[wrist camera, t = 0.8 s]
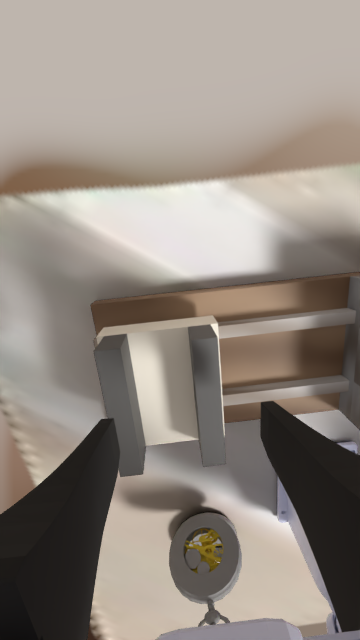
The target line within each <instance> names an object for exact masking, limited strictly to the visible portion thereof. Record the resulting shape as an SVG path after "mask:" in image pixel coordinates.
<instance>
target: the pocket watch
mask: <svg viewBox="0 0 360 640" xmlns="http://www.w3.org/2000/svg"><path fill="white" fill-rule="evenodd" d="M215 560H216V561H217V562H220V563H217V562H216V561H215ZM214 562H215V563H214ZM169 566H170V571H171V575H172V578H173V580H174V583H175V585H176V587H177V588H178V590H179V591H180V592H181V593H182V595H183V596H185V597H186V598H188V599H189V600H190V601H193V602H196V603H199V604H208V609H209V611H208V612H207V613H206V614H205V619H203V620H202V621H201V622H200V623H199V625H198V627H200V626H203V625H204V624H205V622H206V623H207V624H209V625H216V623H218V622H219V620H220V619H222V620H223V621H225V623H230V621H229V620H228V618H226V617H224V616H222V615H220V613H219V612H218V611H217V610H215V609H214V602H216V601H218V600H220V599H222V598H224V597H225V596H226V595H227V594H228V593H229V592H230V591H231V590H232V588H233V587H234V585H235V584H236V582H237V580H238V577H239V573H240V570H241V566H242V554H241V549H240V544H239V541H238V538H237V532H236V530H235V527H234V525H233V523H232V522H231V521H230V520H229V519H227V518H226V517H225V516H223V515H220V514H216V513H201V514H197V515H195V516H192V517H190V518H188V519H187V520H186V521H184V522H183V523H182V525H181V526H180V527H179V529H178V530H177V532H176V533H175V535H174V538H173V540H172V542H171V547H170V553H169Z"/></svg>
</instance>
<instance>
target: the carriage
mask: <svg viewBox="0 0 360 640" xmlns="http://www.w3.org/2000/svg"><path fill="white" fill-rule="evenodd" d="M96 338H97V343H98V346H97V347H96V349H95V350H94V356H95V360H96V365H97V370H98V374H99V379H100V384H101V388H102V393H103V398H104V403H105V407H106V412H107V417H108V419H109V418H114V421H115V427H116V432H117V437H118V442H119V448H120V460H119V467H118V468H119V473H120V477H125V476H133V475H141V474H143V470H144V460H145V450H146V446H150V445H158V444H166V443H174V442H183V441H191V440H199V444H200V450H201V456H202V462H203V467H206V466H214V465H222V464H226V461H225V445H224V436H225V428H224V412H223V396H222V380H221V364H220V348H219V332H218V323H217V321H216V320H215V318H214V317H213V315H211V316H203V317H194V318H185V319H176V320H167V321H158V322H149V323H140V324H131V325H122V326H113V327H104V328H103V329H102V330H101V331H100V333H99V334H98V335H97V337H96Z"/></svg>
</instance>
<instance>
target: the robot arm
mask: <svg viewBox="0 0 360 640" xmlns="http://www.w3.org/2000/svg"><path fill="white" fill-rule="evenodd" d="M261 439H262V442H263V445H264V448H265V450H266V453H267V455H268V458H269V460H270V462H271V464H272V466H273V468H274V470H275V472H276V474H277V475H278V491H277V518H278V520H279V522H289V524H290V527H291V529H292V531H293V534H294V536H295V538H296V540H297V543H298V545H299V547H300V549H301V552H302V554H303V556H304V559H305V561H306V563H307V565H308V568H309V570H310V572H311V575H312V577H313V579H314V581H315V583H316V585H317V587H318V589H319V591H320V592H321V594H322V595H323V596H324V598H325V599H326V600H327V601H328V603H329V605H330V607H331V610H332V613H331V614H329V615H328V617H327V634H326V635H318V636H310V637H303V638H302V635H301V632H300V630H299V629H298V628H297V627H295V626H294V625H292V624H290V623H288V622H286V621H285V620H283V619H268V618H263V619H255V620H248V621H240V622H232V623H224V624H216V625H208V626H200V627H192V628H185V629H178V630H175V631H171V632H168V633H165V634H161V635H160V636H159V637H158V638H157V639H155V640H360V455H358V454H357V450H358V445H357V444H356V443H355V442H352V441H351V442H343V443H335V442H333V441H331V440H330V439H328V438H326V437H325V436H323V435H321V434H320V433H318V432H317V431H315V430H314V429H312V428H311V427H309V426H308V425H306V424H305V423H303V422H302V421H300V420H299V419H297V418H296V417H295V416H293V415H292V414H290V413H289V412H288V411H286V410H285V409H284V408H282V407H281V406H280V405H278V404H277V403H275V402H274V401H266V402H261ZM119 460H120V448H119V442H118V437H117V432H116V427H115V421H114V418H109V419H101V420H100V421H99V422H98V424H97V425H96V426H95V427H94V428H93V429H92V431H91V432H90V433H89V434H88V435H87V437H86V438H85V439H84V440H83V441H82V442H81V443H80V445H79V446H78V447H77V448H76V449H75V450H74V451H73V452H72V453H71V454H70V456H69V457H68V458H67V459H66V460H65V461H64V462H63V463H62V464H61V465H60V466H59V467H58V468H57V469H56V470H55V471H54V472H53V473H52V474H51V475H49V476H48V477H47V478H46V479H45V480H44V481H43V482H42V483H40V484H39V485H38V486H37V487H36V488H35V489H33V490H32V491H31V492H29V493H28V494H27V495H26V496H25V497H23V498H22V499H21V500H19V501H18V502H17V503H16V504H14V505H13V506H12V507H10V508H9V509H7V510H6V511H5V512H4V513H2V514H0V640H87V638H88V630H89V622H90V615H91V607H92V600H93V593H94V586H95V579H96V572H97V565H98V559H99V553H100V547H101V541H102V535H103V531H104V526H105V522H106V518H107V514H108V510H109V506H110V502H111V498H112V495H113V491H114V487H115V482H116V478H117V474H118V467H119Z"/></svg>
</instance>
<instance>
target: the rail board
mask: <svg viewBox="0 0 360 640" xmlns="http://www.w3.org/2000/svg"><path fill="white" fill-rule="evenodd" d="M91 310H92V315H93V320H94V324H95V329H96V334H97V335H98V334H99V333H100V331H101V330H102V329H103V328H104V327H113V326H122V325H131V324H140V323H149V322H158V321H167V320H176V319H185V318H194V317H203V316H211V315H213V317H214V318H215V320H216V321H217V323H218V332H219V348H220V364H221V380H222V396H223V412H224V423H230V422H239V421H247V420H255V419H261V402H266V401H274V402H275V403H277V404H278V405H280V406H281V407H282V408H284V409H285V410H286V411H288V412H289V413H290V414H292V415H297V414H305V413H314V412H322V411H330V410H340V411H341V412H342V413H343V414H344V415H345V416H346V417H347V418H348V419H349V420H350V421H351V422H352V423H353V424H354V425H355V426H356V427H357V428H358V429H359V430H360V272H354V273H345V274H336V275H327V276H318V277H308V278H299V279H290V280H281V281H272V282H263V283H254V284H245V285H235V286H226V287H217V288H208V289H199V290H190V291H181V292H171V293H162V294H153V295H144V296H135V297H126V298H117V299H107V300H98V301H95V302H94V303H92V304H91ZM96 337H97V336H96ZM93 341H94V346H95V349H96V347H97V346H98V343H97V338H95V339H94V340H93Z"/></svg>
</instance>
